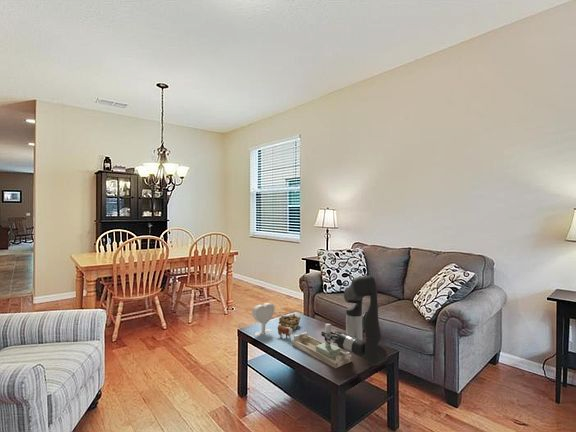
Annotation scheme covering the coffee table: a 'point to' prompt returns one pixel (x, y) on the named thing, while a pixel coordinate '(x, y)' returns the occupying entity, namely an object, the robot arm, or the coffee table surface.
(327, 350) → the green block with post
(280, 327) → the bull figurine
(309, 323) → the coffee table surface
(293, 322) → the mineral formation
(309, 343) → the bay
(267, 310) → the heart sculpture
